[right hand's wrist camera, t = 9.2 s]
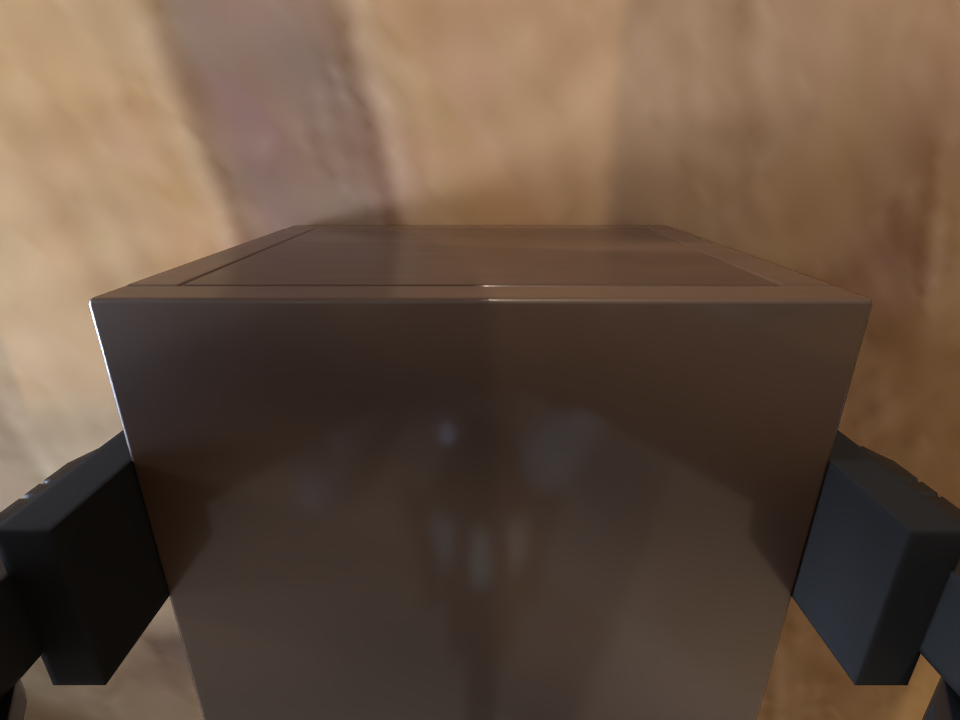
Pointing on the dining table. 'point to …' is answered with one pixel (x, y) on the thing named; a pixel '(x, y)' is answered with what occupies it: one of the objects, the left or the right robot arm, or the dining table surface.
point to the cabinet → (480, 467)
